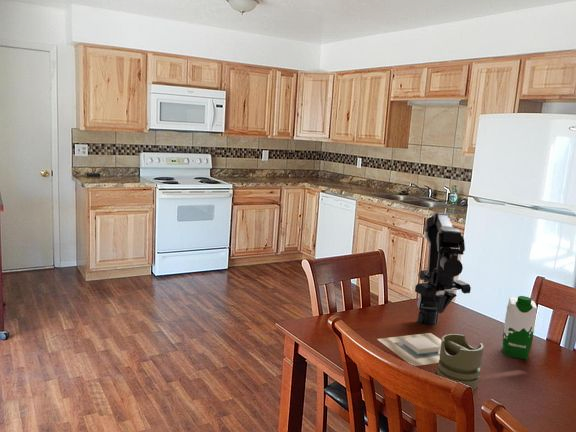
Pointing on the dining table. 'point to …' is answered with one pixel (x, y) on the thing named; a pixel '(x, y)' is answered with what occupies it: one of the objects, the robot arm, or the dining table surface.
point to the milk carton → (519, 327)
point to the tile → (421, 345)
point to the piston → (460, 360)
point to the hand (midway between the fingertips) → (439, 312)
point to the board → (409, 355)
